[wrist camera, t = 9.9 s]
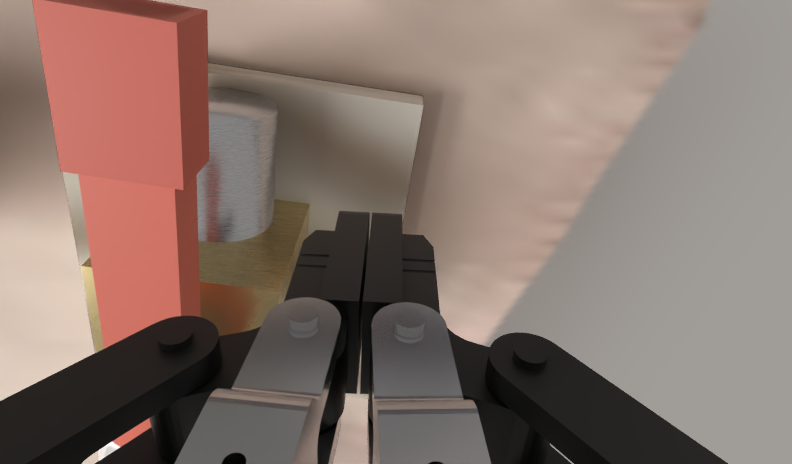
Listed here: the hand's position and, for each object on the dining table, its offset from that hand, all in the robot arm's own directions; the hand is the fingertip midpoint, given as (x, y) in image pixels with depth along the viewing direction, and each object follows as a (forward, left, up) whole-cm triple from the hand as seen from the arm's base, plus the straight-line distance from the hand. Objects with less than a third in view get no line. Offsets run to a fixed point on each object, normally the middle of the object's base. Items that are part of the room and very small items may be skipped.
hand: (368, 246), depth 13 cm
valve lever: (-3, +6, -4) cm, 8 cm away
